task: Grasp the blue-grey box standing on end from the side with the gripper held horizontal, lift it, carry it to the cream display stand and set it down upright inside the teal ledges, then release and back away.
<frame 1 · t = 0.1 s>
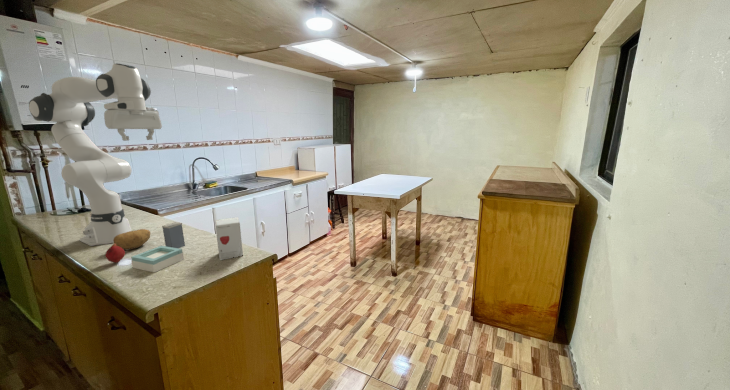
hand: (138, 140, 122), 48 cm above the counter, tool pointing down, fingers open, 8 cm apart
display stand: (159, 263, 115), on the counter
supplement box: (231, 254, 123), on the counter
blue-grey box: (175, 247, 131), on the counter
onion: (117, 263, 116), on the counter
potato: (135, 248, 132), on the counter
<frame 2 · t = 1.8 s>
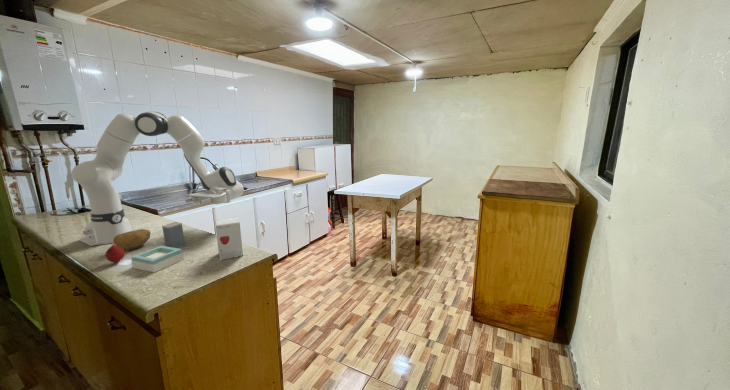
hand: (193, 201, 138), 19 cm above the counter, tool horizontal, fingers open, 8 cm apart
nothing on the counter moved.
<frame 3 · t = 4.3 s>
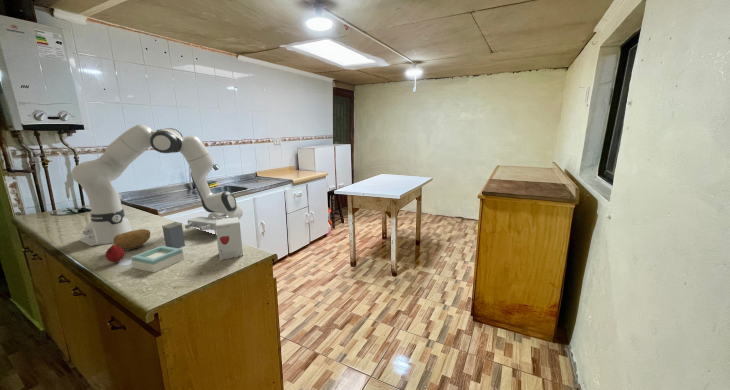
hand: (193, 228, 139), 6 cm above the counter, tool horizontal, fingers open, 8 cm apart
nothing on the counter moved.
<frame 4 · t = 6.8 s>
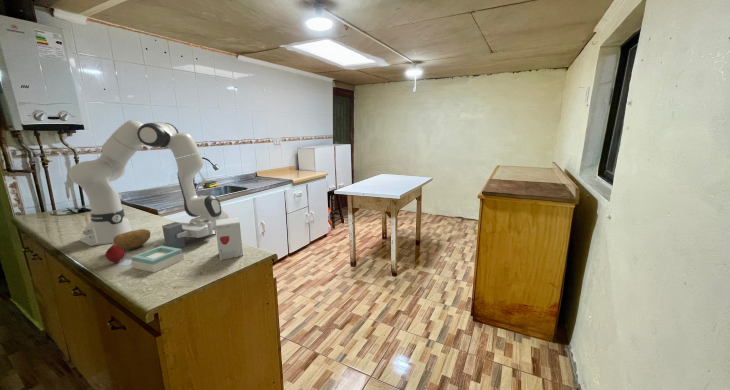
hand: (171, 235, 129), 6 cm above the counter, tool horizontal, fingers closed on blue-grey box, 4 cm apart
blue-grey box: (175, 247, 131), on the counter, touching gripper
everything else where it was.
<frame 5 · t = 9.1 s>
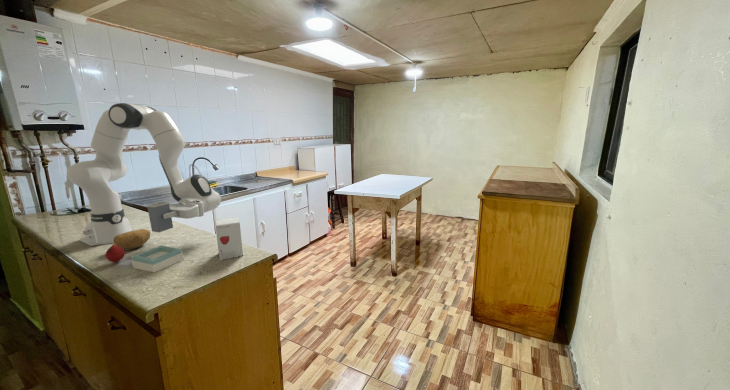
hand: (158, 216, 117), 18 cm above the counter, tool horizontal, fingers closed on blue-grey box, 4 cm apart
blue-grey box: (162, 229, 119), point 12 cm above the counter, touching gripper
everything else where it was.
when the fingers open (10 cm above the counter, at t = 11.4 s): blue-grey box stays where it is, resting on display stand.
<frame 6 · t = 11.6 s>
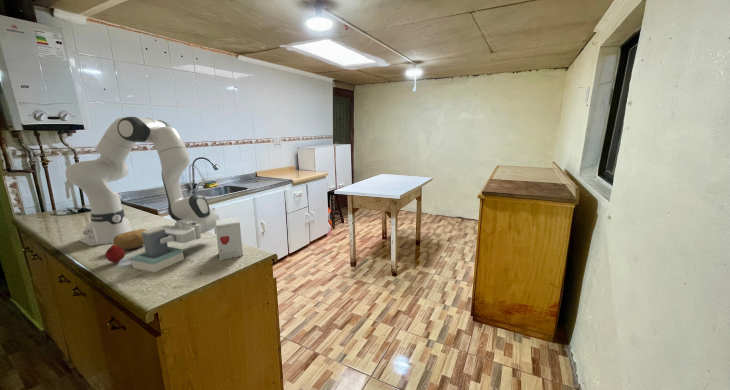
hand: (152, 240, 112), 10 cm above the counter, tool horizontal, fingers open, 6 cm apart
blue-grey box: (157, 256, 115), point 3 cm above the counter, touching display stand
everything else where it was.
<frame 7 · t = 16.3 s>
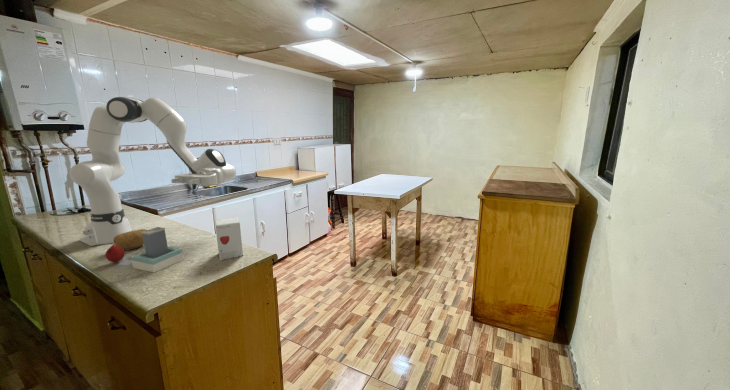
hand: (180, 181, 126), 30 cm above the counter, tool horizontal, fingers open, 8 cm apart
nothing on the counter moved.
at the end: blue-grey box 0.1 cm off-centre on the display stand, point 3.0 cm above the display stand's base; blue-grey box tilted 0°; the gripper is holding nothing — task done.
